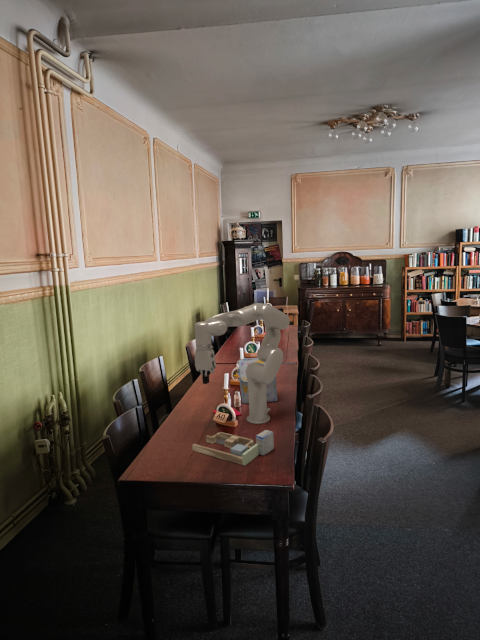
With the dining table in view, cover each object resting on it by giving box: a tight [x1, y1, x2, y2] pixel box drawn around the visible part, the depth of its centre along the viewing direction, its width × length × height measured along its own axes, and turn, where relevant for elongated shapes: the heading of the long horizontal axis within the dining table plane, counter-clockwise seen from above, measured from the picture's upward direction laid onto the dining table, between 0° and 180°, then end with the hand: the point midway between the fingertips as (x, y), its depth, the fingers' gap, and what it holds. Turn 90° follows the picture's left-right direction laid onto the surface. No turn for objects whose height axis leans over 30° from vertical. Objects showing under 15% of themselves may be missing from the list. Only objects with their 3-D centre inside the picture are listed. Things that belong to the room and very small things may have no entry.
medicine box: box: [255, 429, 275, 456], centre depth 196 cm, size 8×4×9 cm, turn 141°
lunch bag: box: [237, 357, 278, 404], centre depth 261 cm, size 22×17×26 cm
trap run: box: [191, 431, 255, 466], centre depth 200 cm, size 18×28×3 cm, turn 56°
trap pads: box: [215, 439, 245, 446], centre depth 205 cm, size 5×18×1 cm, turn 56°
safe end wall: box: [242, 443, 260, 466], centre depth 189 cm, size 11×1×5 cm, turn 146°
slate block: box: [230, 444, 248, 457], centre depth 191 cm, size 6×6×5 cm
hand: (206, 383), depth 213 cm, fingers closed
